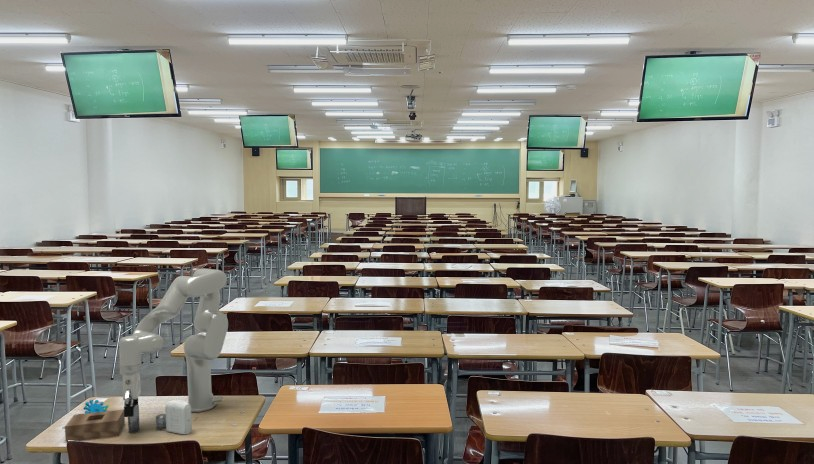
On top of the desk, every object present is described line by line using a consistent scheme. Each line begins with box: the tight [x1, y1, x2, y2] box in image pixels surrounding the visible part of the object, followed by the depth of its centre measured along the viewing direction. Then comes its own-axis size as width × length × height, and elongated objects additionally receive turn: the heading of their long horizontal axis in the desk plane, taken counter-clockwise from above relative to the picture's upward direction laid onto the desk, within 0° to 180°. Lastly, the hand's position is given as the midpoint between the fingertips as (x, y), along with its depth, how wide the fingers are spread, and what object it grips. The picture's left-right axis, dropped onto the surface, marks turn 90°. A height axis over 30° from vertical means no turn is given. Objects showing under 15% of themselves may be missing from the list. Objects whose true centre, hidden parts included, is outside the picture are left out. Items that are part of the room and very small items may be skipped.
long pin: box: [127, 403, 141, 434], centre depth 223 cm, size 4×4×10 cm
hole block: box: [64, 408, 126, 442], centre depth 222 cm, size 18×12×6 cm, turn 106°
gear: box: [83, 399, 110, 414], centre depth 237 cm, size 11×6×10 cm
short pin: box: [155, 413, 166, 431], centre depth 226 cm, size 4×4×5 cm
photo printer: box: [165, 399, 193, 435], centre depth 222 cm, size 10×4×12 cm, turn 69°
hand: (131, 412), depth 222 cm, fingers open, 9 cm apart
